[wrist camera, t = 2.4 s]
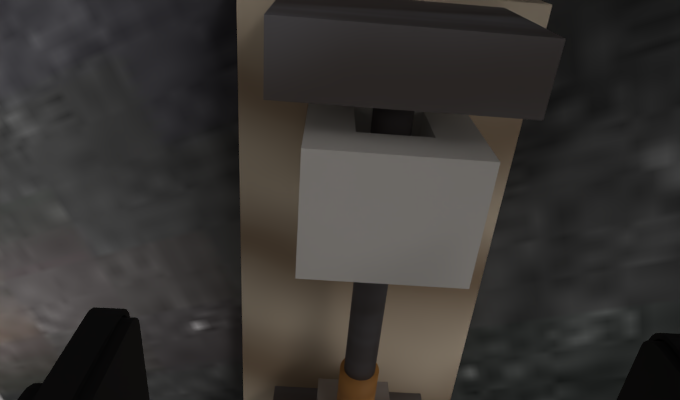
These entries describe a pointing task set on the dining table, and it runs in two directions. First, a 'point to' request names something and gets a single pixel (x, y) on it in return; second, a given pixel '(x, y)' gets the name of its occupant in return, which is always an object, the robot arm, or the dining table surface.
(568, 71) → the dining table surface
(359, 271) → the sleeve
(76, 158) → the dining table surface
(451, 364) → the small bench vise
